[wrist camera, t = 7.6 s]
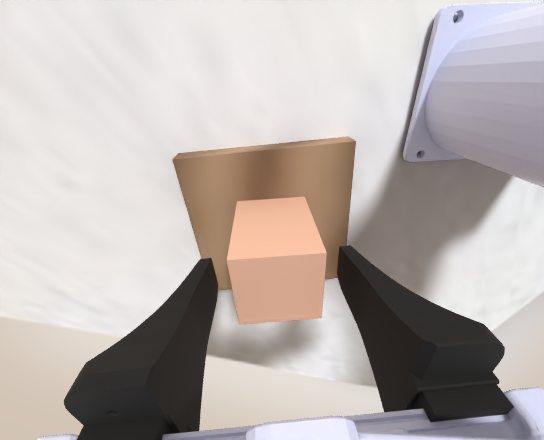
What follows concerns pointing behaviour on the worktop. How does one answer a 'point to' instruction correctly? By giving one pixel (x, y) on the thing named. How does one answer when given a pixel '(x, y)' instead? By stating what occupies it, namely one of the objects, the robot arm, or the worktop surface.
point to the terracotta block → (276, 261)
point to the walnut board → (267, 191)
